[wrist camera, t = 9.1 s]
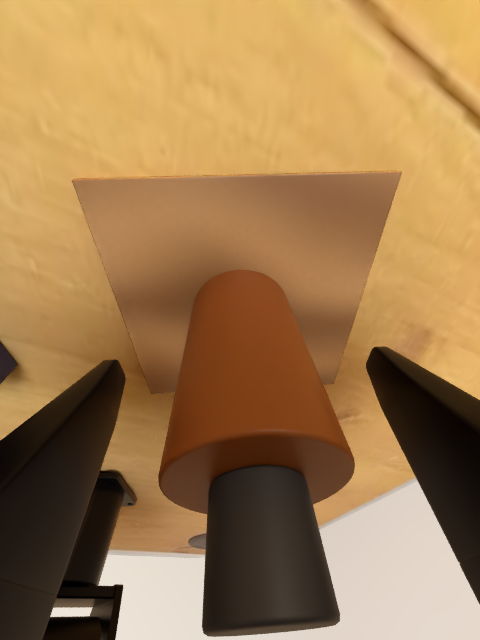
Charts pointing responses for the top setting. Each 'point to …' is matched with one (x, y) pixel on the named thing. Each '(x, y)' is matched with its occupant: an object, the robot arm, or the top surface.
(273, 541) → the bottle
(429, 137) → the top surface
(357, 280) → the coaster
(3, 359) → the case
